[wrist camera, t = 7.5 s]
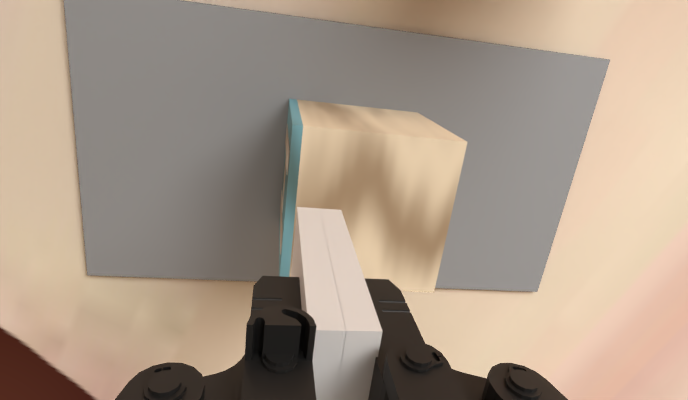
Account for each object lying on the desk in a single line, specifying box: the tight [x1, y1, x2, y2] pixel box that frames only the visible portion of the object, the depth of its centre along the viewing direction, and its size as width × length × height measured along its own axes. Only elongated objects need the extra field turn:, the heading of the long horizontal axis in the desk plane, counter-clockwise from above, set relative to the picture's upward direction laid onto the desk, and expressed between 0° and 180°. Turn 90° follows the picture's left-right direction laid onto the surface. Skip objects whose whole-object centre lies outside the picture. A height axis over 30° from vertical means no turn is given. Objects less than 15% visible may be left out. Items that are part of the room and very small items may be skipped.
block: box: [279, 99, 467, 292], centre depth 21 cm, size 7×7×7 cm
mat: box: [64, 0, 610, 292], centre depth 25 cm, size 15×28×1 cm, turn 83°
